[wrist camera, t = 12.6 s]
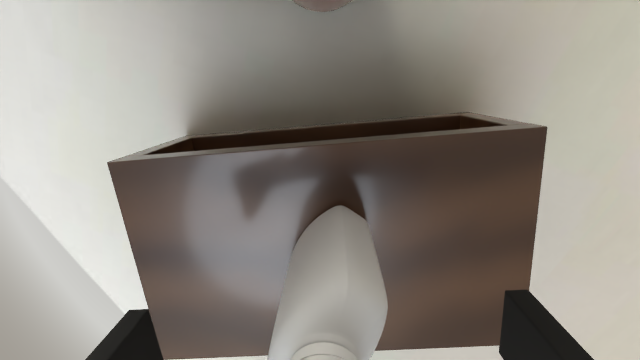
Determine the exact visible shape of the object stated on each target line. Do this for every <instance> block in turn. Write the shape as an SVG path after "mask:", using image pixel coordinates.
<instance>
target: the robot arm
mask: <svg viewBox="0 0 640 360" xmlns="http://www.w3.org/2000/svg"><path fill="white" fill-rule="evenodd" d="M499 353H500V355H501V356H502V358H503V359H504V360H594V359H593V358H592V357H591V356H590V355H589V354H588V353H587V352H586V351H585V350H584V349H583V348H582V347H581V346H580V345H579V344H578V342H577V341H576V340H575V339H574V338H573V337H572V336H571V335H570V334H569V333H568V332H567V331H566V330H565V329H564V328H563V327H562V326H561V324H560V323H559V322H558V321H557V320H556V319H555V318H554V317H553V316H552V315H551V314H550V313H549V312H548V311H547V310H546V309H545V308H544V306H543V305H542V304H541V303H540V302H539V301H538V300H537V299H536V298H535V297H534V296H533V295H532V294H531V293H530V292H529V291H528V290H527V289H525V290H506V291H505V296H504V306H503V316H502V326H501V337H500V347H499ZM86 360H164V359H163V356H162V353H161V349H160V346H159V343H158V339H157V336H156V333H155V329H154V326H153V322H152V319H151V316H150V312H149V309H142V310H129V311H128V312H127V313H126V314H125V315H124V317H123V318H122V319H121V320H120V321H119V322H118V324H117V325H116V326H115V327H114V328H113V329H112V330H111V331H110V332H109V334H108V335H107V336H106V337H105V338H104V339H103V340H102V342H101V343H100V344H99V345H98V346H97V347H96V348H95V349H94V351H93V352H92V353H91V354H90V355H89V356H88V357H87V358H86Z"/></svg>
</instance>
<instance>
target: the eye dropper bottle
mask: <svg viewBox="0 0 640 360" xmlns="http://www.w3.org/2000/svg"><path fill="white" fill-rule="evenodd" d="M387 310H388V303H387V295H386V291H385V286H384V282H383V277H382V274H381V270H380V266H379V262H378V258H377V254H376V251H375V247H374V243H373V239H372V236H371V232H370V228H369V225H368V223H367V221H366V220H365V219H364V218H362V217H361V216H359V215H358V214H356V213H355V212H353V211H352V210H350V209H349V208H347V207H345V206H341V205H339V206H335V207H333V208H331V209H329V210H327V211H326V212H324V213H323V214H321V215H320V216H319V217H317V218H316V219H315V220H314V221H313V222H312V223H311V224H310V225H309V226H308V227H307V228H306V229H305V231H304V232H303V233H302V235H301V236H300V238H299V240H298V241H297V243H296V245H295V247H294V250H293V252H292V255H291V258H290V262H289V266H288V270H287V274H286V278H285V283H284V287H283V291H282V295H281V299H280V304H279V308H278V312H277V317H276V321H275V325H274V330H273V334H272V339H271V343H270V348H269V353H268V360H370V358H371V356H372V355H373V353H374V351H375V349H376V347H377V344H378V342H379V340H380V337H381V335H382V332H383V328H384V325H385V321H386V316H387Z"/></svg>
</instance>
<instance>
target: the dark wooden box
mask: <svg viewBox="0 0 640 360" xmlns="http://www.w3.org/2000/svg"><path fill="white" fill-rule="evenodd" d="M546 134H547V127H546V126H541V125H535V124H528V123H523V122H518V121H513V120H507V119H502V118H496V117H491V116H486V115H480V114H475V113H470V112H463V113H451V114H439V115H427V116H416V117H404V118H392V119H380V120H368V121H357V122H345V123H333V124H321V125H310V126H298V127H286V128H274V129H262V130H251V131H239V132H227V133H215V134H203V135H191V136H184V137H181V138H178V139H175V140H172V141H169V142H166V143H163V144H160V145H158V146H155V147H152V148H149V149H146V150H143V151H140V152H137V153H134V154H131V155H128V156H125V157H122V158H119V159H116V160H113V161H110V162H107V164H108V167H109V171H110V174H111V178H112V181H113V185H114V188H115V192H116V195H117V199H118V202H119V206H120V209H121V213H122V217H123V220H124V224H125V227H126V231H127V234H128V238H129V241H130V245H131V248H132V252H133V255H134V259H135V262H136V266H137V269H138V273H139V276H140V280H141V284H142V287H143V291H144V294H145V298H146V301H147V305H148V308H149V312H150V315H151V319H152V322H153V326H154V329H155V333H156V336H157V339H158V343H159V346H160V349H161V353H162V356H163V359H164V360H168V359H192V358H215V357H239V356H262V355H268V353H269V348H270V343H271V339H272V334H273V330H274V325H275V321H276V317H277V312H278V308H279V304H280V299H281V295H282V291H283V287H284V283H285V278H286V274H287V270H288V266H289V262H290V258H291V255H292V252H293V250H294V247H295V245H296V243H297V241H298V240H299V238H300V236H301V235H302V233H303V232H304V231H305V229H306V228H307V227H308V226H309V225H310V224H311V223H312V222H313V221H314V220H315V219H316V218H317V217H319V216H320V215H321V214H323V213H324V212H326V211H327V210H329V209H331V208H333V207H335V206H339V205H341V206H345V207H347V208H349V209H350V210H352V211H353V212H355V213H356V214H358V215H359V216H361V217H362V218H364V219H365V220H366V221H367V223H368V225H369V228H370V232H371V236H372V239H373V243H374V247H375V251H376V254H377V258H378V262H379V266H380V270H381V274H382V277H383V282H384V286H385V291H386V295H387V303H388V310H387V316H386V321H385V325H384V328H383V332H382V335H381V337H380V340H379V342H378V344H377V347H376V349H375V351H380V350H403V349H426V348H450V347H473V346H497V345H500V337H501V326H502V316H503V306H504V296H505V291H506V290H525V289H527V290H528V291H529V285H530V276H531V267H532V258H533V249H534V240H535V232H536V223H537V214H538V205H539V196H540V187H541V178H542V169H543V161H544V152H545V143H546Z"/></svg>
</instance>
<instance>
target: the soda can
mask: <svg viewBox="0 0 640 360" xmlns="http://www.w3.org/2000/svg"><path fill="white" fill-rule="evenodd" d="M292 1H294V2H295V3H296V4H298V5H299V6H301V7H303V8H305V9H308V10H312V11H317V12H327V11H333V10H336V9H339V8H341V7H343V6H345V5H346V4H348V3H349V2H351V1H352V0H292Z"/></svg>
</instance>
